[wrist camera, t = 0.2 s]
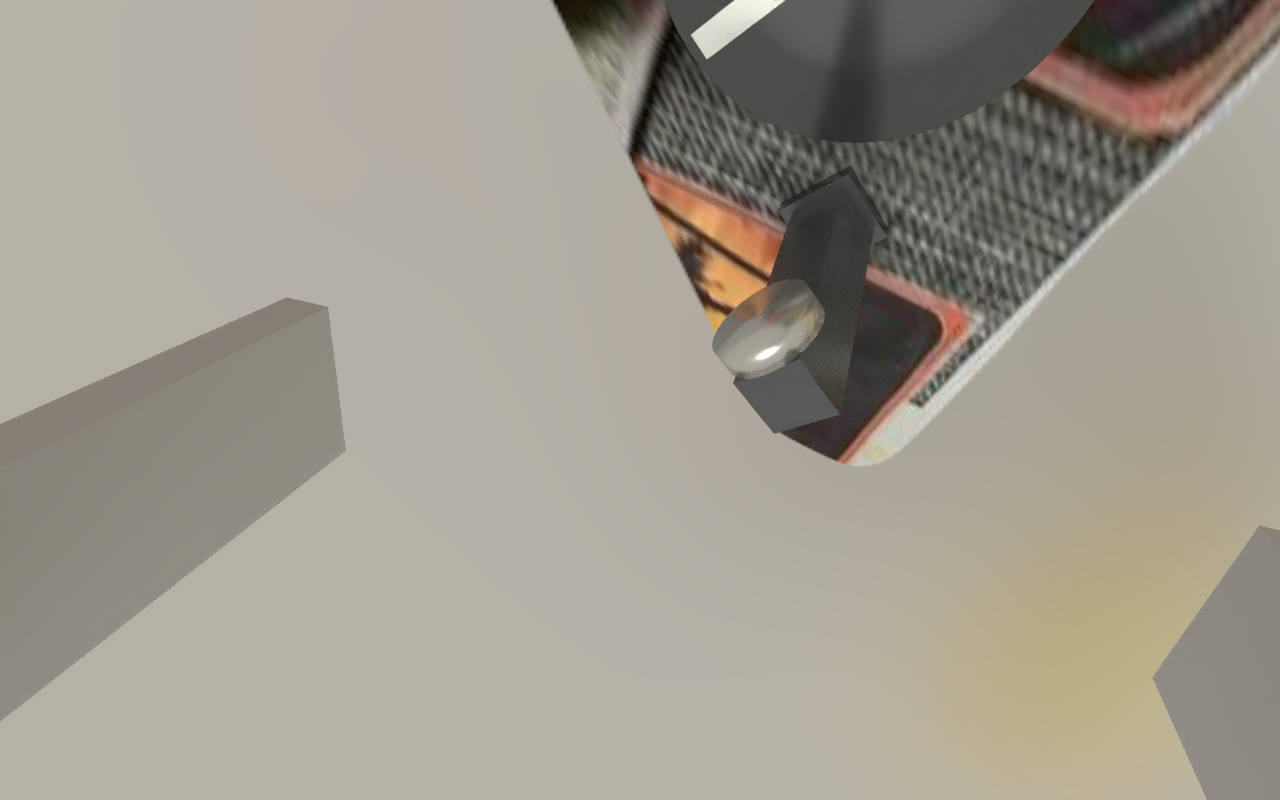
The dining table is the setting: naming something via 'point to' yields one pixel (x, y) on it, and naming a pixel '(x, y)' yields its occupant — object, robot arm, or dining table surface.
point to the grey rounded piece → (869, 58)
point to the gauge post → (805, 307)
